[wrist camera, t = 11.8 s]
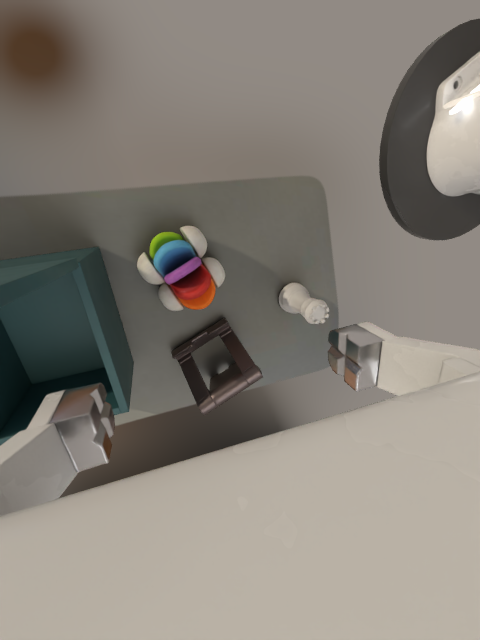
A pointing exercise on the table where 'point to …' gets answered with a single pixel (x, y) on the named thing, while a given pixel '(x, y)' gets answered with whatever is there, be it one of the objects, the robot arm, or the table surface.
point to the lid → (31, 277)
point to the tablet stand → (220, 384)
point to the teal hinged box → (61, 341)
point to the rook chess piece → (303, 303)
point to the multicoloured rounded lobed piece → (181, 269)
